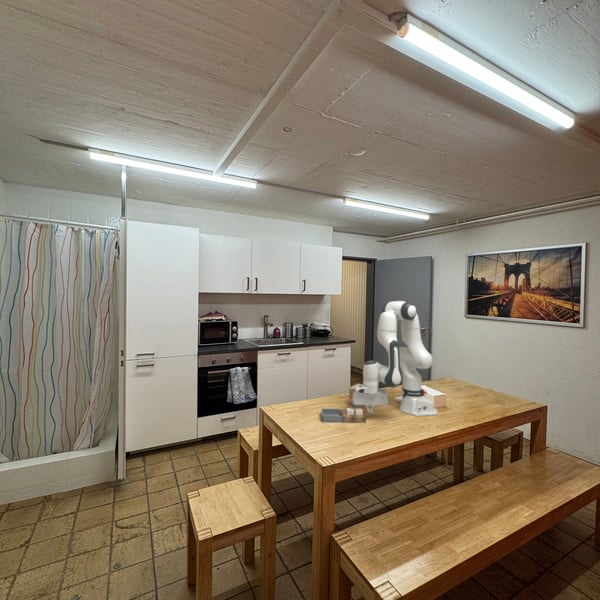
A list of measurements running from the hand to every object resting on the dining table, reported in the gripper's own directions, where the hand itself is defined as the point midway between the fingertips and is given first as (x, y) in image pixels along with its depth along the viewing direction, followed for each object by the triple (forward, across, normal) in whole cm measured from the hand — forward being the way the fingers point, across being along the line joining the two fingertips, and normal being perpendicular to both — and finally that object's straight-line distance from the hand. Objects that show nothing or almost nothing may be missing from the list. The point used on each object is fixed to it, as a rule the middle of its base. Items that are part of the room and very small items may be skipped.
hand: (369, 412), depth 182 cm
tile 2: (+1, +6, 0) cm, 7 cm away
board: (+4, +10, 0) cm, 11 cm away
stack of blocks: (+4, 0, -27) cm, 27 cm away
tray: (+4, +22, 0) cm, 23 cm away
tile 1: (+1, +12, 0) cm, 12 cm away
